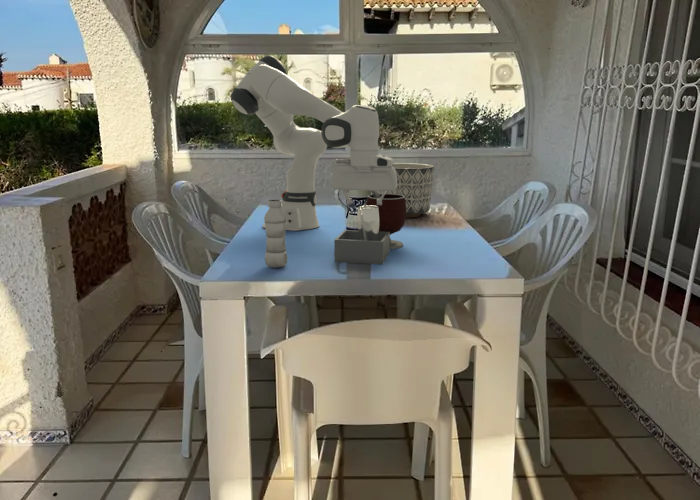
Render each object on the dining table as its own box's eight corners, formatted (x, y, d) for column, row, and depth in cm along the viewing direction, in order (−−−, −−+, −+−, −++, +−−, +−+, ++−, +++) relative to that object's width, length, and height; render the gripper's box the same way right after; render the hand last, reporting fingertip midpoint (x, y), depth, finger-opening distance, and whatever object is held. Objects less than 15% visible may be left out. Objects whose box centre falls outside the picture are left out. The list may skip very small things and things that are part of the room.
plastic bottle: (265, 264, 175) (263, 198, 171) (288, 264, 176) (286, 198, 171) (264, 270, 169) (262, 202, 164) (287, 269, 170) (286, 201, 165)
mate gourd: (413, 245, 201) (415, 187, 197) (387, 251, 192) (388, 191, 187) (380, 238, 212) (381, 183, 207) (353, 244, 202) (353, 187, 198)
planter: (433, 211, 271) (434, 163, 266) (430, 220, 246) (432, 168, 241) (377, 209, 276) (378, 162, 270) (370, 218, 251) (370, 167, 246)
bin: (334, 261, 179) (334, 239, 177) (344, 250, 193) (344, 230, 191) (382, 264, 176) (383, 241, 174) (389, 252, 190) (389, 231, 188)
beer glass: (379, 256, 180) (378, 208, 176) (356, 256, 181) (355, 209, 178) (381, 251, 187) (380, 205, 183) (360, 251, 188) (358, 205, 184)
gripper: (329, 160, 176) (329, 205, 180) (396, 161, 173) (395, 207, 176) (333, 158, 182) (333, 202, 186) (398, 159, 179) (397, 203, 182)
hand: (364, 204), depth 181 cm, fingers open, 8 cm apart
